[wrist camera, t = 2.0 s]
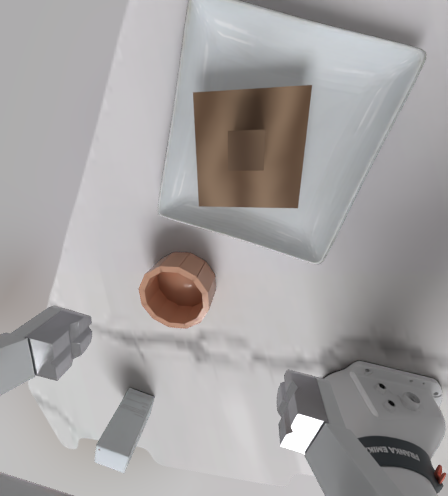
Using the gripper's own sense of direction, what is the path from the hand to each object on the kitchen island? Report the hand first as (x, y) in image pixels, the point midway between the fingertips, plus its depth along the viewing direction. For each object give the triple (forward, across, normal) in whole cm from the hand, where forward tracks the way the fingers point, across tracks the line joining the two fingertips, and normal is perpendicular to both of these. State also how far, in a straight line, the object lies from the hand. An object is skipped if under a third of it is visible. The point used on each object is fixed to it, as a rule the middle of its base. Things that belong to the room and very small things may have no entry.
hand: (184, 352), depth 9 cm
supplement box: (+29, +14, +55) cm, 64 cm away
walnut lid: (+25, 0, -9) cm, 26 cm away
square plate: (+29, -2, -10) cm, 31 cm away
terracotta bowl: (+28, +7, +16) cm, 33 cm away
